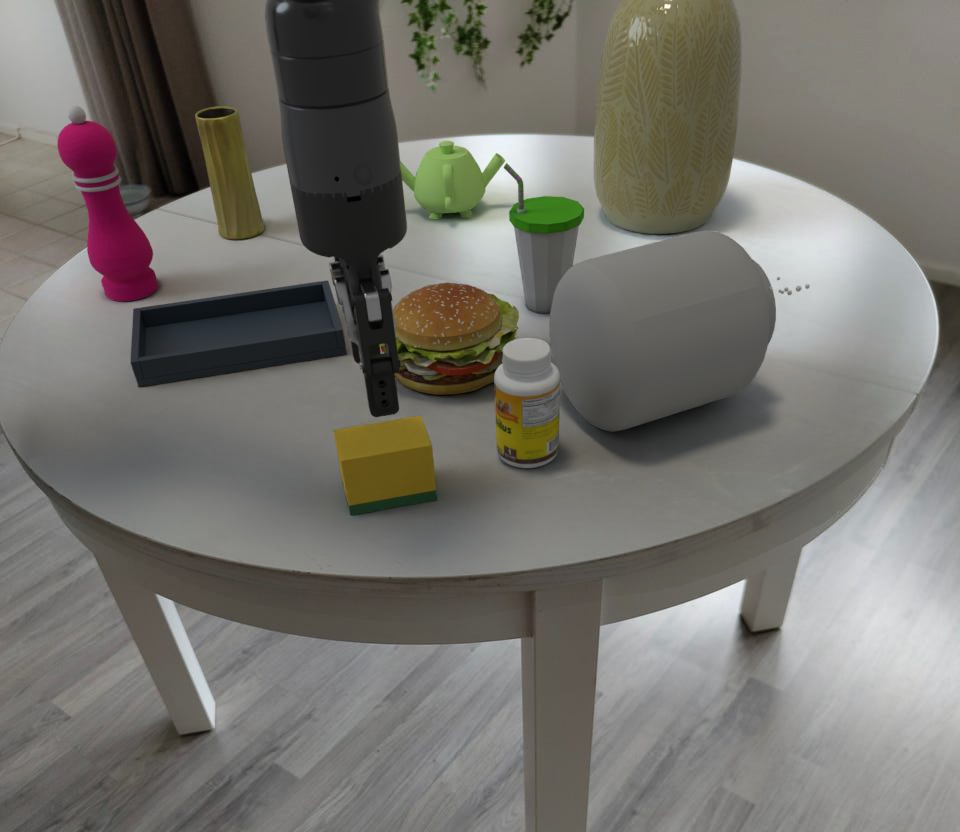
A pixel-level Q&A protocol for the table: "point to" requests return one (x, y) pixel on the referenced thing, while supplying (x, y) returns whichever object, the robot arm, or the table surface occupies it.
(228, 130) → the vase
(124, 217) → the pepper mill
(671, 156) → the vase
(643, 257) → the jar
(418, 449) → the sponge
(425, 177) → the teapot
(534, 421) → the supplement bottle
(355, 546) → the table surface
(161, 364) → the tray
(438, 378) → the food
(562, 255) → the cup
